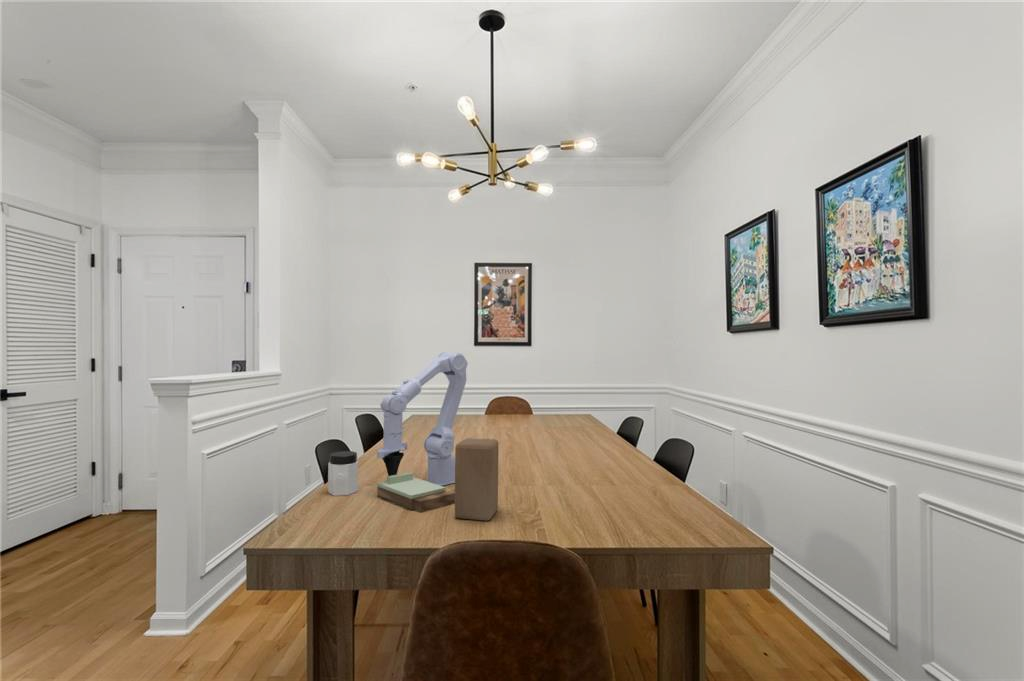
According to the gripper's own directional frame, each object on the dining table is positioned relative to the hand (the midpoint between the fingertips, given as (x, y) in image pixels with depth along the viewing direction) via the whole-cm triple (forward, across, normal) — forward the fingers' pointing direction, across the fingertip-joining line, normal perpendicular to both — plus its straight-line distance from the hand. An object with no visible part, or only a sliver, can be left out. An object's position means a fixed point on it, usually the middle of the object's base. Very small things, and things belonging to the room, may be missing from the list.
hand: (392, 476), depth 160 cm
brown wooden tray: (+5, -2, -12) cm, 13 cm away
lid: (+2, -4, -9) cm, 10 cm away
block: (+5, -10, -33) cm, 35 cm away
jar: (+5, -5, +14) cm, 16 cm away
